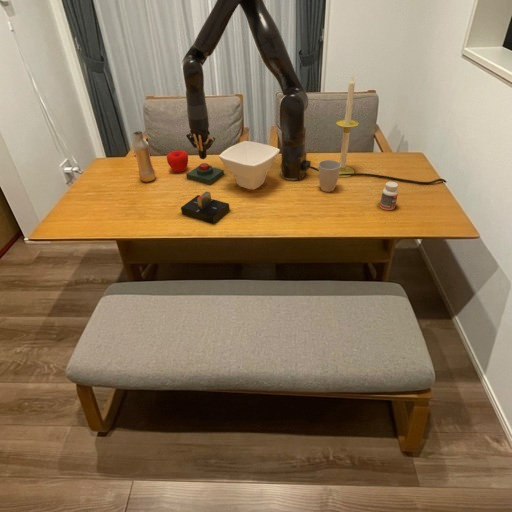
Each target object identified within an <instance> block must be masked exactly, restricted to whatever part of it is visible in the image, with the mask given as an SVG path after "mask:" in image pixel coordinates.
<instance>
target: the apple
mask: <svg viewBox="0 0 512 512" xmlns="http://www.w3.org/2000/svg"><path fill="white" fill-rule="evenodd" d="M166 162H167V164H168V165H169V167H170V169H171V170H172V171H174V172H177V173H179V172H184V171H185V170H186V169H187V167H188V164H189V155H188V153H187V152H186V151H184V150H174V151H171V152H169V153H167V155H166Z"/></svg>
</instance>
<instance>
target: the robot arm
mask: <svg viewBox="0 0 512 512" xmlns="http://www.w3.org/2000/svg"><path fill="white" fill-rule="evenodd" d="M238 7H240V8H241V10H242V13H243V14H244V15H245V18H246V22H247V25H248V29H249V31H250V35H251V37H252V40H253V43H254V46H255V47H256V51H257V52H258V55H259V56H260V60H261V61H262V63H263V65H265V67H266V68H267V69H268V71H269V72H270V73H271V74H272V75H273V76H274V78H275V79H276V81H277V83H278V85H279V87H280V89H281V92H282V95H283V97H282V98H281V99H280V103H279V129H280V131H281V147H280V148H281V149H280V153H281V155H280V156H281V157H280V160H281V163H280V177H281V178H282V179H284V180H287V181H301V180H302V179H303V178H304V177H305V176H306V174H307V171H308V170H309V169H311V170H313V171H316V172H318V171H319V168H317V167H314V166H311V165H312V164H311V163H312V161H311V160H307V152H305V151H306V126H305V112H306V111H307V109H308V107H309V96H308V94H307V92H306V90H305V88H304V86H303V84H302V82H301V81H300V78H299V77H298V74H297V73H296V71H295V68H294V65H293V62H292V60H291V57H290V54H289V52H288V50H287V47H286V45H285V41H284V39H283V37H282V34H281V32H280V30H279V28H278V26H277V24H276V22H275V20H274V18H273V17H272V15H271V13H270V12H269V10H268V9H267V7H266V5H265V3H264V0H216V1H215V4H214V5H213V8H212V9H211V11H210V13H209V14H208V16H207V18H206V20H205V22H204V23H203V25H202V26H201V28H200V30H199V32H198V34H197V36H196V37H195V40H194V42H193V43H192V45H191V46H190V48H189V49H188V50H187V52H186V54H185V55H184V57H183V59H182V61H181V64H180V65H181V66H180V68H181V71H182V75H183V77H184V78H183V79H184V85H185V90H184V91H185V100H186V112H187V121H188V127H189V129H190V130H189V132H188V133H187V134H186V135H185V136H186V138H187V140H188V141H189V143H190V144H191V145H192V147H193V148H194V149H196V150H197V151H198V157H199V159H200V160H205V159H206V158H207V156H208V154H207V150H209V149H210V148H211V147H212V146H213V144H214V143H215V141H216V138H215V137H214V136H213V137H212V136H211V133H210V130H209V128H210V123H209V113H208V106H207V100H206V93H205V87H204V85H205V76H204V68H203V66H204V64H205V63H206V61H207V60H208V58H209V57H211V56H212V55H213V54H214V52H215V50H216V48H217V47H218V46H219V43H220V42H221V39H222V37H223V36H224V33H225V32H226V29H227V28H228V25H229V22H230V20H231V18H232V17H233V15H234V13H235V11H236V10H237V8H238ZM346 175H352V176H366V177H376V178H383V179H388V180H389V179H390V180H394V181H399V182H406V183H411V184H412V183H413V184H420V185H432V184H435V183H438V182H443V183H444V184H446V183H447V180H446V179H444V178H438V179H434V180H431V181H419V180H411V179H404V178H399V177H394V176H388V175H382V174H375V173H362V172H358V173H357V172H354V173H351V174H339V176H346Z"/></svg>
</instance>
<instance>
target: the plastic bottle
mask: <svg viewBox="0 0 512 512" xmlns="http://www.w3.org/2000/svg"><path fill="white" fill-rule="evenodd" d="M132 136H133V139H134V140H133V142H132V150H133V153H134V155H135V158H136V162H137V166H138V175H139V176H138V177H139V178H140V180H141V181H142V182H145V183H148V182H152V181H154V180H155V178H156V172H155V169H154V167H153V162H152V159H151V154H150V145H149V143H148V141H147V140H146V139H145V138H144V134H143V131H141V130H139V131H135V132H133V133H132Z"/></svg>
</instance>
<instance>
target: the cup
mask: <svg viewBox="0 0 512 512" xmlns="http://www.w3.org/2000/svg"><path fill="white" fill-rule="evenodd" d="M340 166H341V164H340V161H337V160H332V159H325V160H321V161H319V162H318V169H319V171H317V172H318V174H317V175H318V183H319V187H320V190H321V191H323V192H326V193H328V192H329V193H330V192H333V191H334V190H335V188H336V187H337V184H338V180H339V178H340V177H339V172H340Z"/></svg>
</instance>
